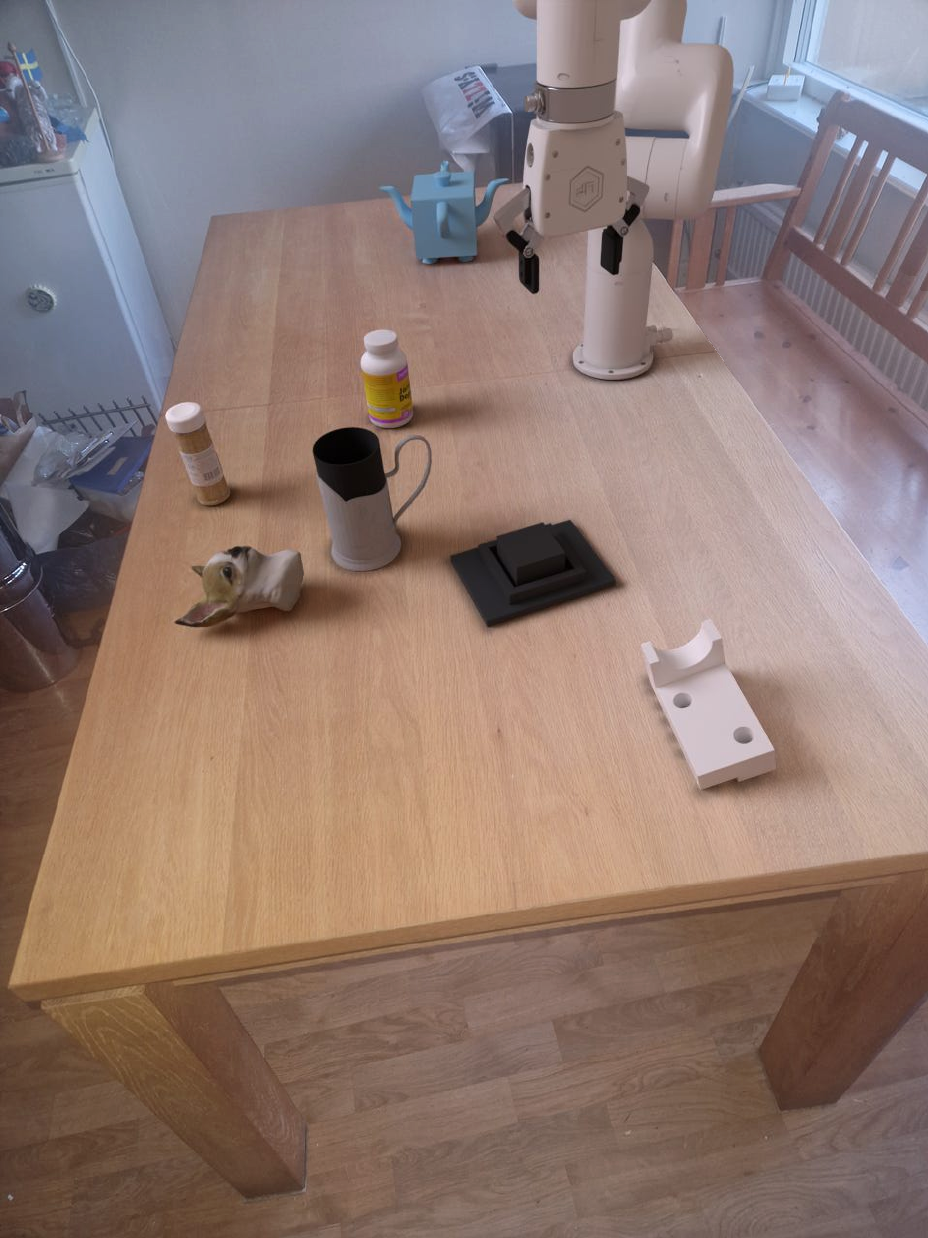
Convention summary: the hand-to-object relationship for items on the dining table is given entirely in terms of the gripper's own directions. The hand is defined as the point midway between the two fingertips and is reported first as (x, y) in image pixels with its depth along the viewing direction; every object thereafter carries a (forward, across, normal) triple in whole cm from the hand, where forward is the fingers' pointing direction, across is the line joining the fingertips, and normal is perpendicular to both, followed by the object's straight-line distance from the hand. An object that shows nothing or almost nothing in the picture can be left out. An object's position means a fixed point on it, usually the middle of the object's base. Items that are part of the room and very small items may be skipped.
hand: (570, 279), depth 89 cm
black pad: (+25, -12, -16) cm, 32 cm away
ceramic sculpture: (+26, -44, -7) cm, 52 cm away
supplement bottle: (+26, -17, +24) cm, 40 cm away
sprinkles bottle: (+26, -45, +16) cm, 55 cm away
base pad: (+26, -12, -16) cm, 33 cm away
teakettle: (+26, +12, +79) cm, 84 cm away
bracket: (+26, -6, -43) cm, 51 cm away
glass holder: (+26, -26, -3) cm, 37 cm away
